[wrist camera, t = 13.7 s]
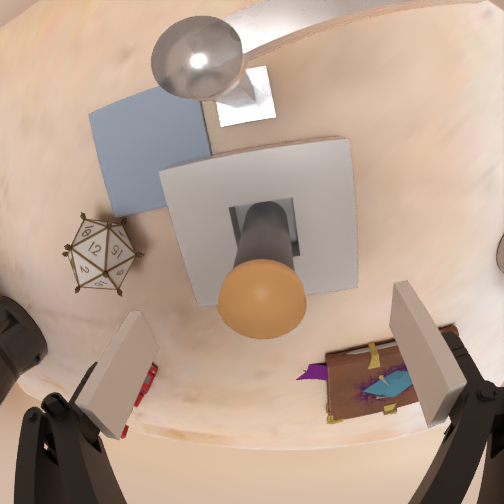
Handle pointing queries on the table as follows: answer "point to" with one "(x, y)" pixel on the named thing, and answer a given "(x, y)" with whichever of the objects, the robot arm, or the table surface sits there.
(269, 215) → the plug
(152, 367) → the toy fire truck
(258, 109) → the post
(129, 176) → the pad
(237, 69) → the silver ball-ended lever
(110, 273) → the game die
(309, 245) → the socket block
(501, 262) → the coffee cup
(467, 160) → the table surface
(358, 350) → the book
